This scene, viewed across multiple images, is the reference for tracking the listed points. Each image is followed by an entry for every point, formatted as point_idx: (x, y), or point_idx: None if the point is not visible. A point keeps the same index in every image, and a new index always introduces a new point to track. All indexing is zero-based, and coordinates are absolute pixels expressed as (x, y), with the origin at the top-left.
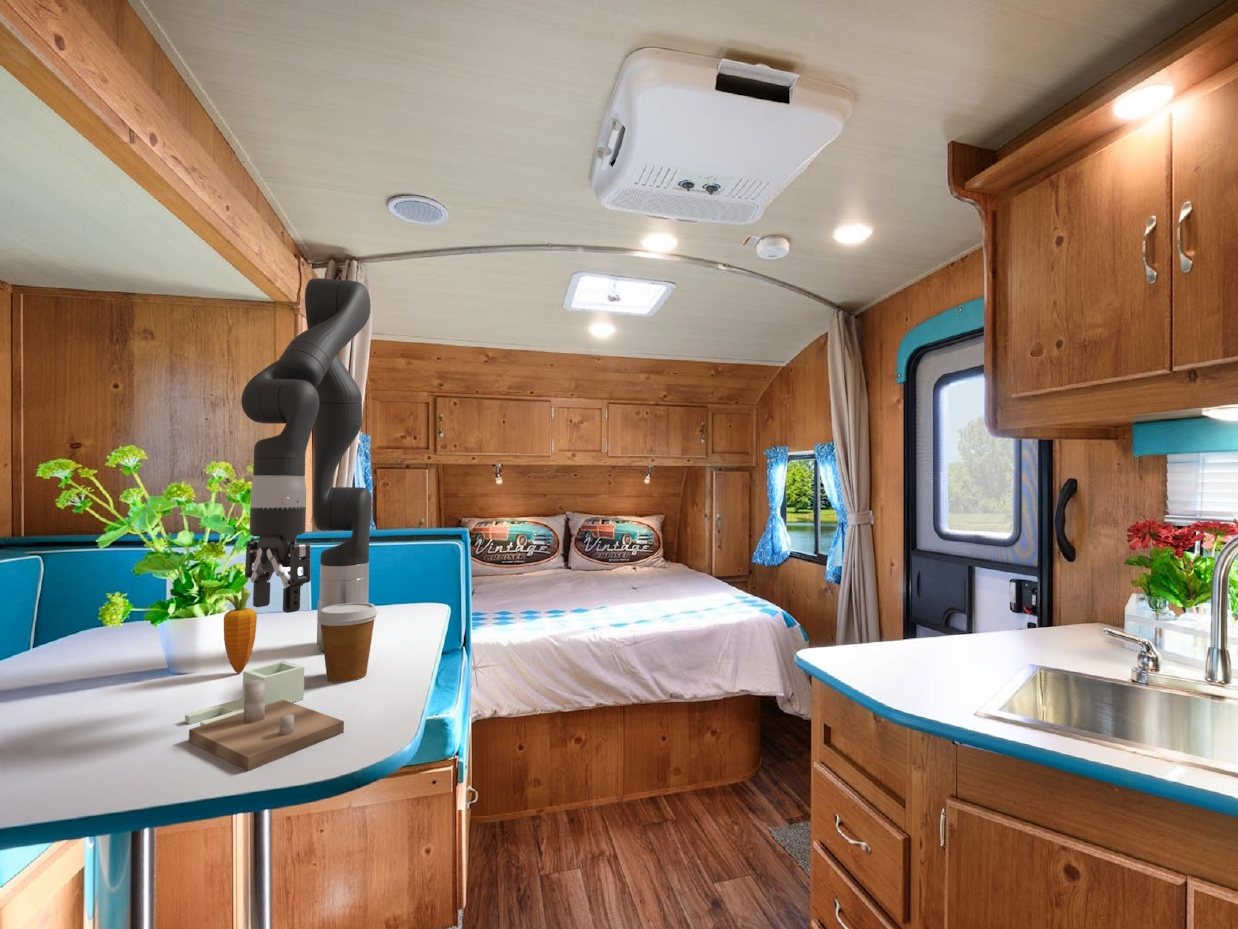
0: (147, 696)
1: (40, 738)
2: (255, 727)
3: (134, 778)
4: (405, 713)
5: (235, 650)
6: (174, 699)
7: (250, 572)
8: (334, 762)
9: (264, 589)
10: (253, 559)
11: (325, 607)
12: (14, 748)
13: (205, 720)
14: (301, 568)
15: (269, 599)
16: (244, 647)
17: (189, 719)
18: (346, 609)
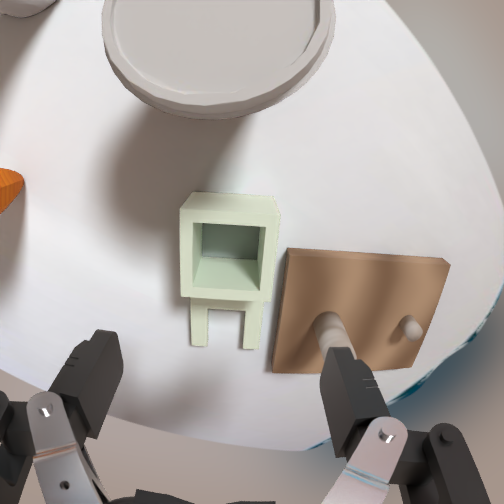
0: (39, 305)
1: (113, 404)
2: (354, 334)
3: (311, 409)
4: (475, 171)
5: (3, 208)
6: (76, 297)
7: (30, 457)
8: (471, 307)
9: (95, 393)
10: (9, 501)
11: (110, 50)
12: (125, 419)
13: (244, 344)
14: (387, 488)
15: (107, 343)
16: (3, 194)
17: (207, 344)
18: (200, 2)
